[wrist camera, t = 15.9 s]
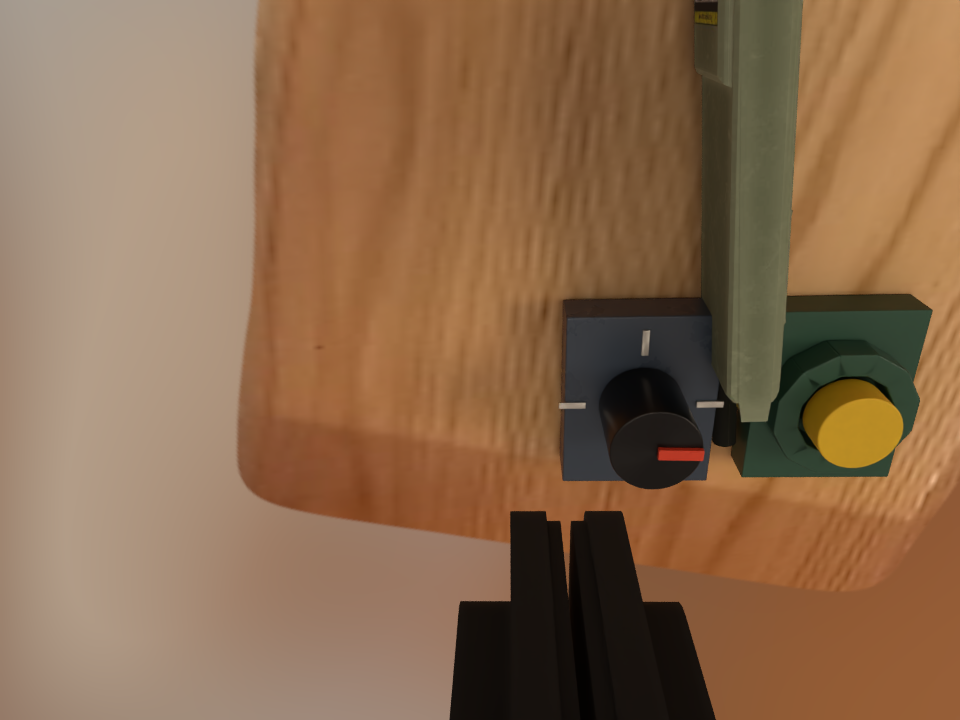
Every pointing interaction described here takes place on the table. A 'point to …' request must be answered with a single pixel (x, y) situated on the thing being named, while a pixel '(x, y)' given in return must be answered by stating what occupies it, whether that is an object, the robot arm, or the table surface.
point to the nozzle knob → (649, 429)
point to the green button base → (834, 377)
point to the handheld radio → (746, 193)
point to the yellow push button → (852, 423)
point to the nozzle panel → (625, 346)
